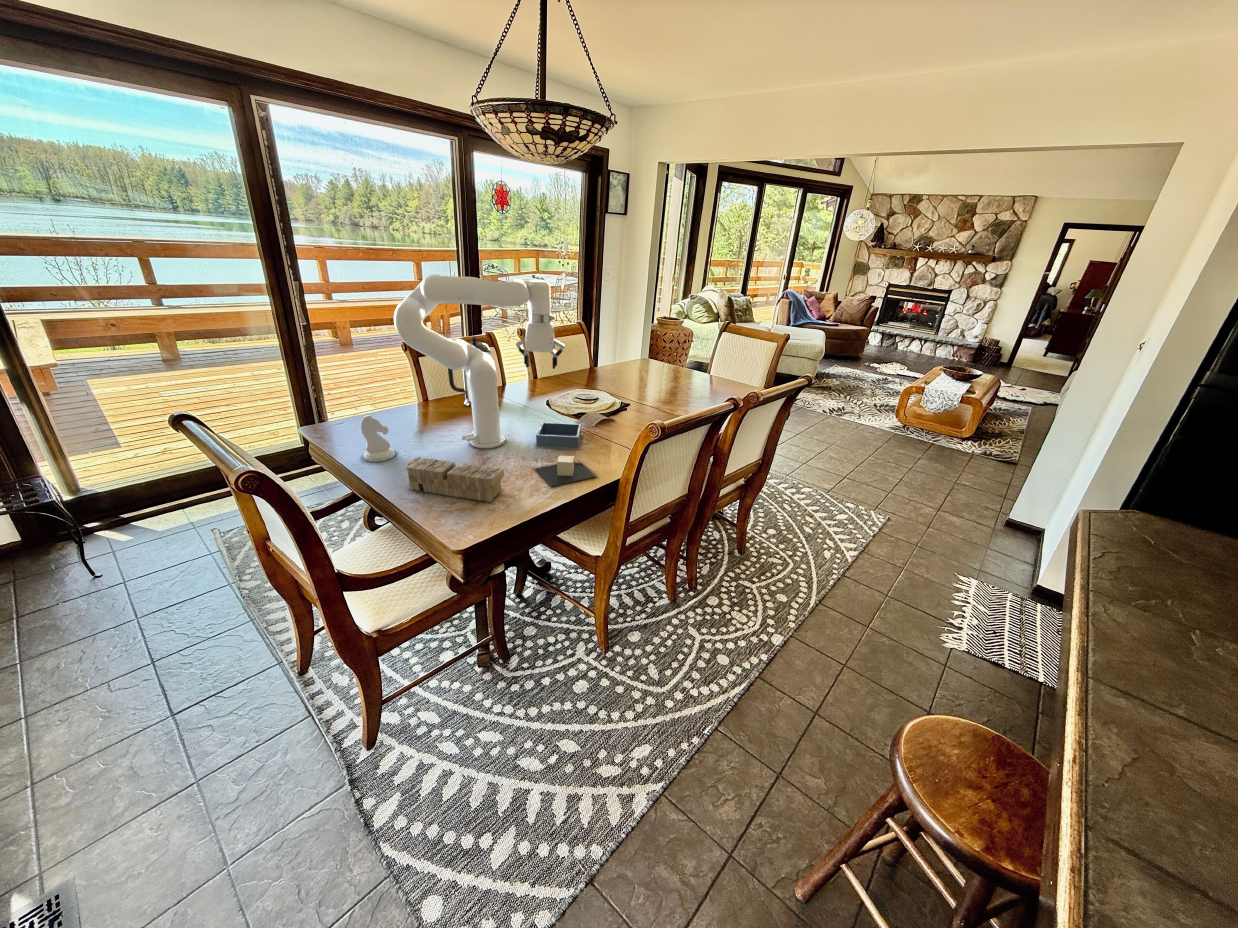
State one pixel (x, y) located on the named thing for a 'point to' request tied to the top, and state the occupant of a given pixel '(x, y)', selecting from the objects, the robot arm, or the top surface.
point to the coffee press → (466, 388)
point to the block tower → (455, 479)
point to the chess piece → (375, 440)
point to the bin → (558, 435)
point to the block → (565, 465)
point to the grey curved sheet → (592, 418)
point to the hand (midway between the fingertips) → (540, 367)
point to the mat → (555, 480)
